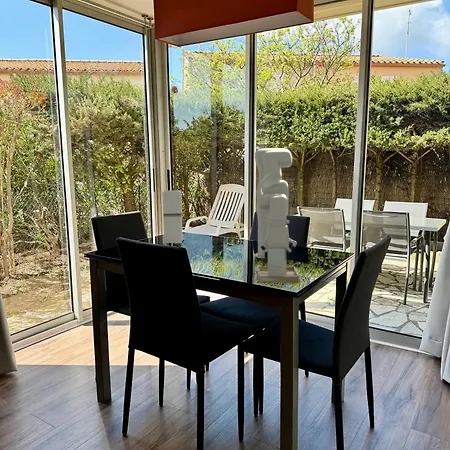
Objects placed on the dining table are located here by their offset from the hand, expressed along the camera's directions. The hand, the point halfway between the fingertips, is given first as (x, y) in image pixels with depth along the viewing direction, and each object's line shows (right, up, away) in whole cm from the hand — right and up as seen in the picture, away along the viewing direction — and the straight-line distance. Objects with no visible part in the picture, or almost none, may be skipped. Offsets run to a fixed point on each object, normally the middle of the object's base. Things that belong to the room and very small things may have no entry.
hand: (277, 260), depth 190 cm
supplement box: (0, -7, +1) cm, 7 cm away
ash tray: (0, -8, +1) cm, 8 cm away
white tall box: (-58, +3, +80) cm, 99 cm away
